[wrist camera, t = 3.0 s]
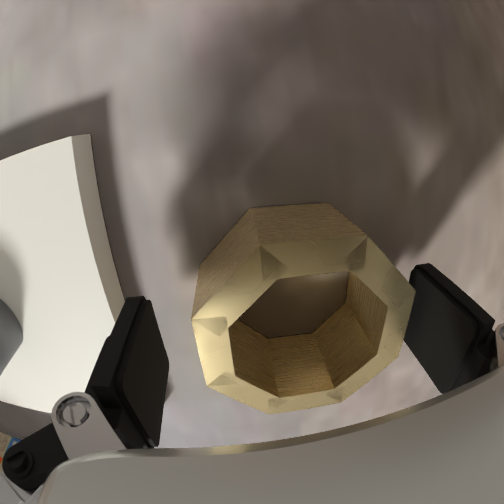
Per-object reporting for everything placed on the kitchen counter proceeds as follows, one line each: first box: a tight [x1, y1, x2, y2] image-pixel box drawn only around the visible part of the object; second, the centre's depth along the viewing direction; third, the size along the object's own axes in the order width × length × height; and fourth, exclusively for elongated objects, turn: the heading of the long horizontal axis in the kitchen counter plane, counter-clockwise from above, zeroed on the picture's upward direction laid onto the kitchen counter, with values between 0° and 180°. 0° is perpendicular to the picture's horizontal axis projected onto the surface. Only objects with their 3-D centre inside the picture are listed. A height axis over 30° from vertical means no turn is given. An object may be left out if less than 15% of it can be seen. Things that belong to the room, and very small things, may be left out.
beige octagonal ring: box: [191, 203, 416, 414], centre depth 11 cm, size 7×7×4 cm
